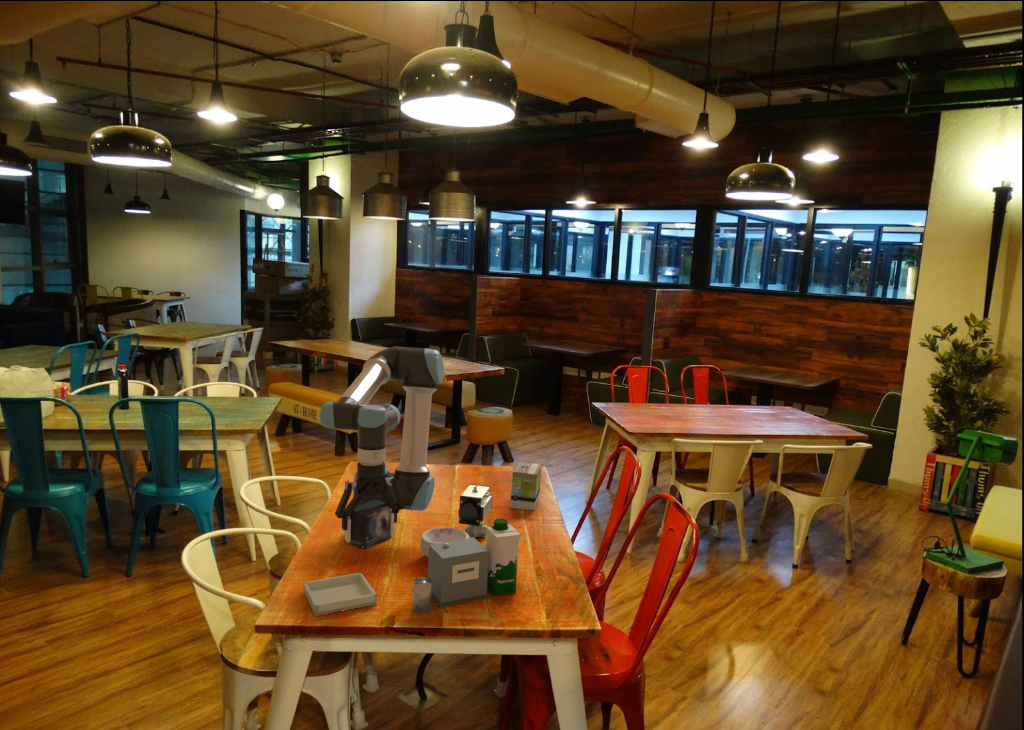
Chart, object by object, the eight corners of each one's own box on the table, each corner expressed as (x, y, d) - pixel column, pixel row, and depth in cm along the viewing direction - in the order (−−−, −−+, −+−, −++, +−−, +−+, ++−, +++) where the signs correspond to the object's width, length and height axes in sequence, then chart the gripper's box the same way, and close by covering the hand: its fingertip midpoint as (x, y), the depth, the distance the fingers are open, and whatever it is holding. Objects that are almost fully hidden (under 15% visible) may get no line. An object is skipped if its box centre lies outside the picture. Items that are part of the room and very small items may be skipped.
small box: (365, 551, 189) (366, 514, 187) (347, 545, 192) (348, 508, 191) (390, 538, 198) (392, 503, 196) (373, 533, 201) (374, 498, 200)
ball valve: (480, 547, 232) (483, 496, 229) (456, 544, 234) (458, 493, 231) (493, 528, 249) (495, 480, 247) (470, 525, 251) (472, 477, 248)
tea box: (535, 511, 268) (537, 474, 266) (509, 508, 270) (511, 471, 268) (539, 498, 283) (542, 463, 281) (515, 495, 285) (517, 460, 282)
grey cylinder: (410, 606, 191) (411, 578, 190) (427, 602, 194) (428, 575, 192) (416, 614, 187) (417, 586, 186) (434, 611, 189) (435, 583, 188)
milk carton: (508, 580, 210) (511, 516, 207) (520, 593, 202) (524, 528, 199) (480, 584, 206) (483, 519, 203) (492, 598, 198) (495, 531, 195)
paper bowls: (450, 545, 233) (451, 522, 232) (477, 561, 221) (479, 538, 220) (411, 555, 223) (412, 532, 222) (437, 573, 212) (438, 548, 210)
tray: (303, 592, 196) (303, 582, 195) (361, 582, 203) (361, 572, 203) (315, 616, 183) (315, 606, 183) (376, 604, 191) (376, 594, 190)
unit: (424, 590, 201) (426, 541, 198) (472, 581, 208) (474, 533, 205) (439, 607, 191) (441, 556, 189) (488, 597, 198) (491, 548, 196)
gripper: (331, 470, 182) (330, 549, 186) (417, 461, 195) (414, 535, 198) (323, 462, 189) (322, 538, 192) (407, 454, 201) (404, 526, 204)
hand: (369, 537), depth 195 cm, fingers closed on small box, 12 cm apart
